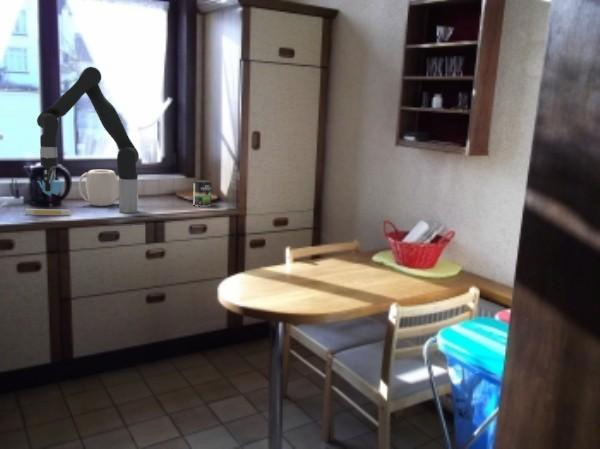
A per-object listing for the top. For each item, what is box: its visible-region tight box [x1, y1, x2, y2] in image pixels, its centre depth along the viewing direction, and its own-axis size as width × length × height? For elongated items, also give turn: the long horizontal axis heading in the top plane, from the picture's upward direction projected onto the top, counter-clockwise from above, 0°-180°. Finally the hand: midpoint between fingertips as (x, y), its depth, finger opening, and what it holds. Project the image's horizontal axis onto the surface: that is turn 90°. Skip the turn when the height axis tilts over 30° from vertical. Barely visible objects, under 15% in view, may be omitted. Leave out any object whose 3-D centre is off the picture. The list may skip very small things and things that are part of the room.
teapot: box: [36, 179, 64, 196], centre depth 272 cm, size 12×6×8 cm, turn 127°
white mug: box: [77, 168, 119, 207], centre depth 308 cm, size 16×27×19 cm, turn 126°
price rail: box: [24, 208, 71, 216], centre depth 269 cm, size 20×2×2 cm, turn 100°
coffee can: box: [192, 179, 213, 208], centre depth 322 cm, size 10×10×14 cm
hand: (50, 189), depth 273 cm, fingers closed on teapot, 8 cm apart
